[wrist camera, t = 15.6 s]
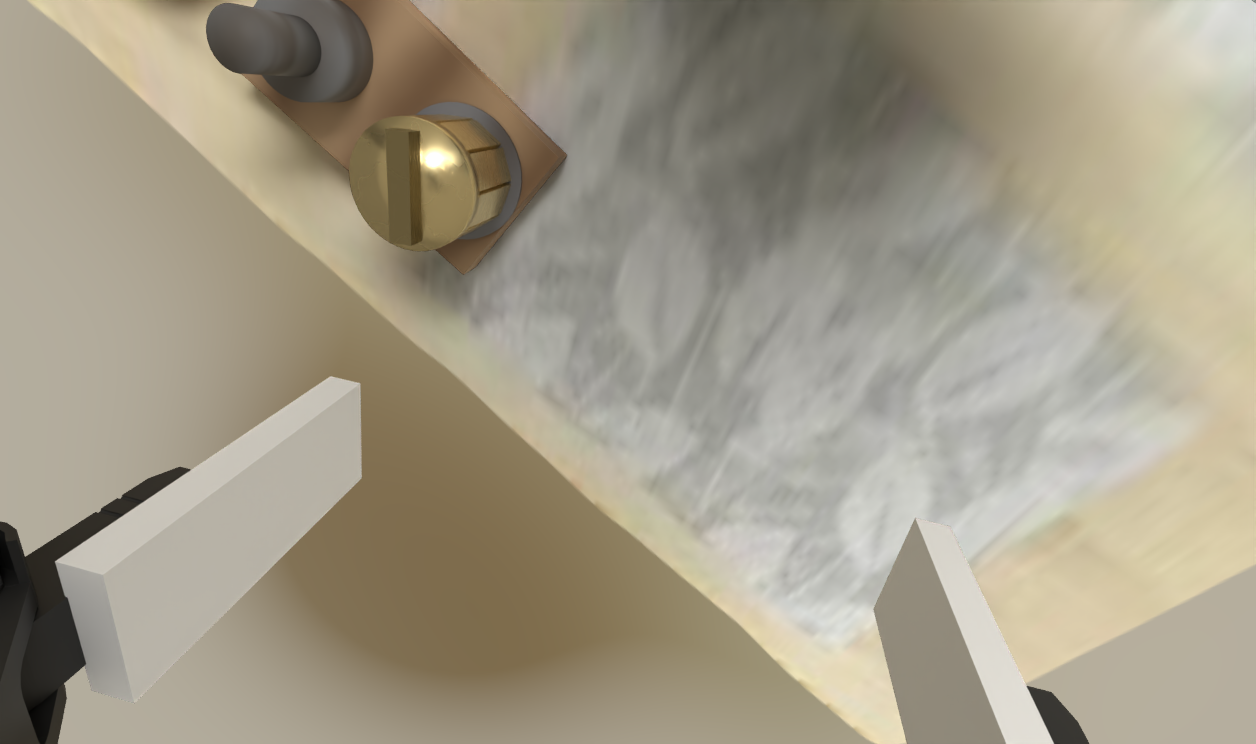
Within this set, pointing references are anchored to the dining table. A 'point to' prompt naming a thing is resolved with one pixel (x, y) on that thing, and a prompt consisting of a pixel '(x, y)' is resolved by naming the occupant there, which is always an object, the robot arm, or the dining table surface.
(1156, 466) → the dining table surface
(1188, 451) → the dining table surface
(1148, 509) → the dining table surface
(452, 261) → the post plinth
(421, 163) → the cap
